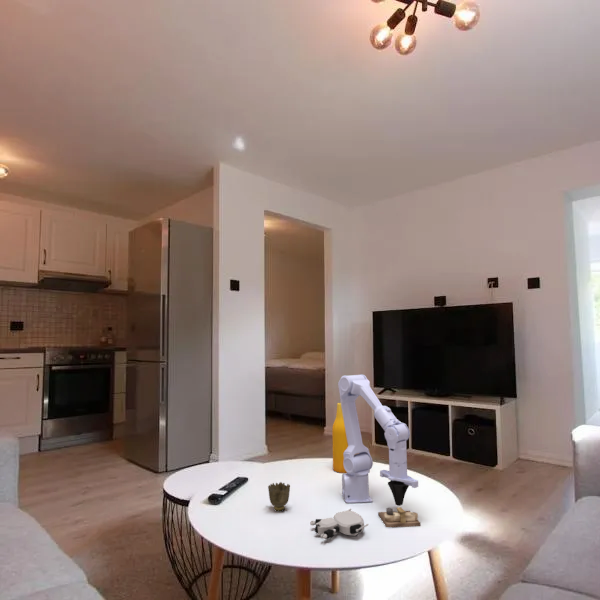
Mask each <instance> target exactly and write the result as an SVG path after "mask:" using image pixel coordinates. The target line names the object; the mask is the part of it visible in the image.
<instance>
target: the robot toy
mask: <svg viewBox="0 0 600 600" xmlns="http://www.w3.org/2000/svg"><path fill="white" fill-rule="evenodd" d="M310 526H314V531H315V534H317V535H318V536H319V537H320V538H321V539H323V540H329V539H330V538H332V537H333V536H335V535H337V534H338V533H339V532H340V533H342V534H343V535H346V536H347V535H348V536H356V535H358V534H361V533H362V532H363V531H364V530H365V528H366V527H367V526H369V523H366V524H365V521H364V518H363V517H362V515H360V514H359V513H357V512H355V511H353V510H352V508H349V509H348V510H343V511H338V512H335V514H334V515H333V517H327V518H316V519H315V520H311V521H310Z"/></svg>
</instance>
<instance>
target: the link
mask: <svg viewBox="0 0 600 600" xmlns="http://www.w3.org/2000/svg"><path fill="white" fill-rule="evenodd" d="M405 517H406V521H417V520H418V521H419V519H418V518H419V515H418V513H417V512H414V511H410V512H405ZM385 521H388V522H394V521H400V513H393V515H388V514H386V513H385Z"/></svg>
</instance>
